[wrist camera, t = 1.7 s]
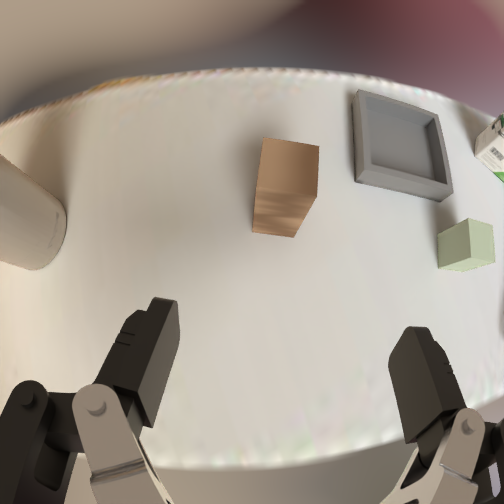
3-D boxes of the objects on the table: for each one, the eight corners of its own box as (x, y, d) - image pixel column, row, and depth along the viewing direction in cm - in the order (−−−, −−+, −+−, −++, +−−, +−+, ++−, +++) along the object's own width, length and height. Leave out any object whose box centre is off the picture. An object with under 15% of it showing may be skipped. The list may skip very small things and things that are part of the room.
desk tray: (354, 182, 30) (364, 169, 27) (351, 104, 33) (358, 89, 30) (439, 202, 30) (453, 192, 27) (427, 126, 33) (437, 114, 30)
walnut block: (252, 232, 29) (256, 187, 19) (257, 194, 30) (263, 137, 20) (293, 237, 29) (316, 196, 19) (296, 199, 30) (319, 146, 20)
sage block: (438, 268, 28) (471, 257, 23) (437, 234, 29) (468, 218, 24) (462, 272, 28) (495, 262, 23) (461, 239, 29) (492, 225, 24)
